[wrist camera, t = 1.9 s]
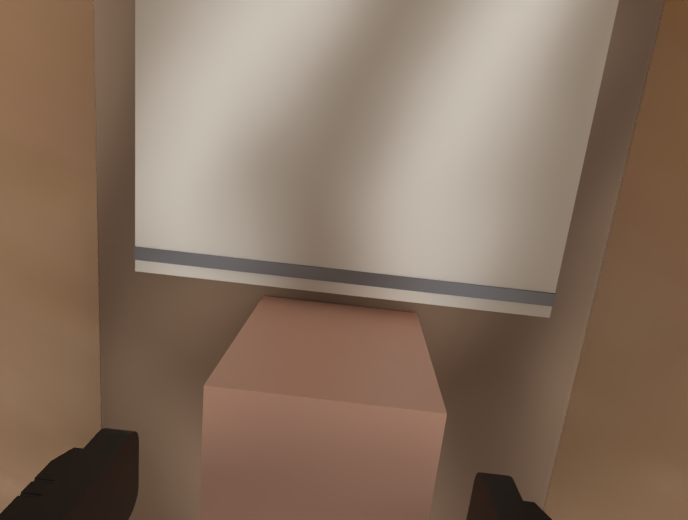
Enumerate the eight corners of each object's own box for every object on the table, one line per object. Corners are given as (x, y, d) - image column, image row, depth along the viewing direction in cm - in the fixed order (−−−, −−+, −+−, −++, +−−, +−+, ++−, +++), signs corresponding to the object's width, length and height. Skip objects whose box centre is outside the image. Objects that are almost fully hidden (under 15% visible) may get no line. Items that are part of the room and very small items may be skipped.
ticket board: (650, -49, 14) (699, -82, 12) (503, 598, 20) (519, 652, 18) (118, -102, 15) (76, -143, 13) (122, 551, 20) (94, 599, 18)
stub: (417, 312, 16) (447, 413, 10) (393, 472, 17) (407, 643, 11) (263, 295, 16) (203, 385, 10) (252, 456, 17) (195, 616, 11)
